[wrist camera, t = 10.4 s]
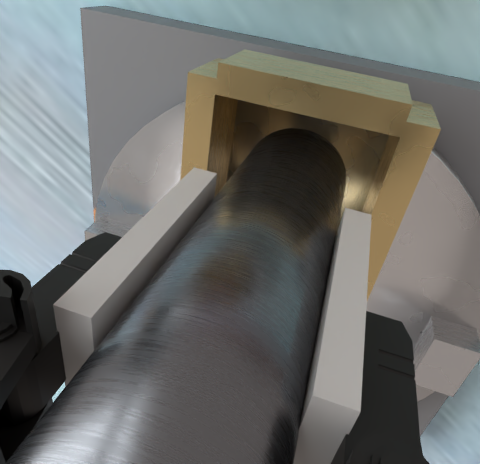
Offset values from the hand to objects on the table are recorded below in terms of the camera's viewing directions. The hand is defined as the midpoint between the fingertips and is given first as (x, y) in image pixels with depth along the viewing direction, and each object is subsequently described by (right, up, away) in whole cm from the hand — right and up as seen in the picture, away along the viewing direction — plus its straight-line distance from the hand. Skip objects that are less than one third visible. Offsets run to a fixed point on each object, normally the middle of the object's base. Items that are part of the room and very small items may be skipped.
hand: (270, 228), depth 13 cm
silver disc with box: (+1, -2, +9) cm, 9 cm away
